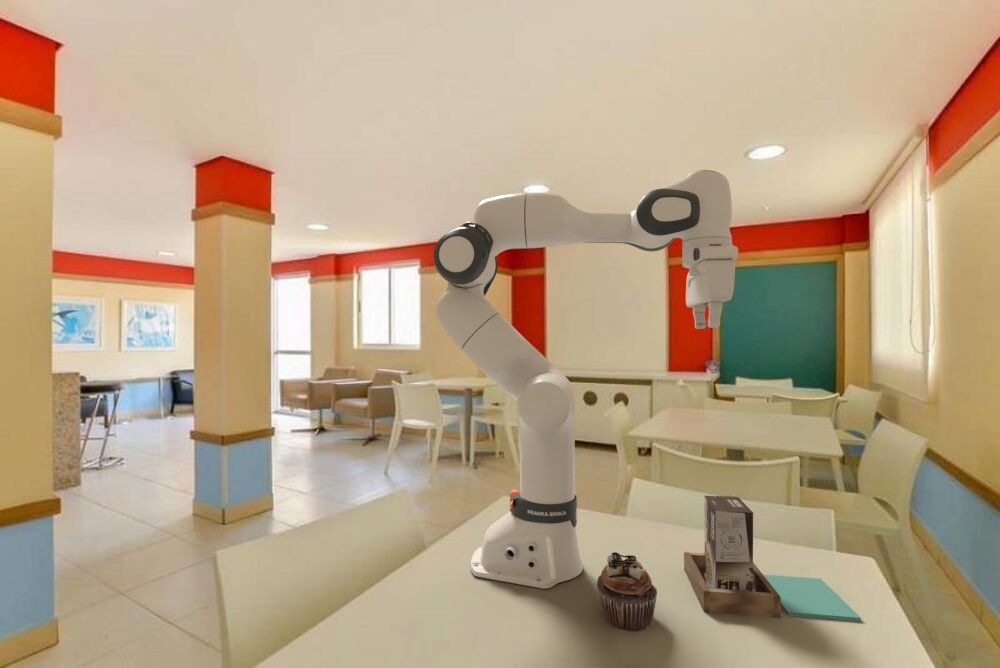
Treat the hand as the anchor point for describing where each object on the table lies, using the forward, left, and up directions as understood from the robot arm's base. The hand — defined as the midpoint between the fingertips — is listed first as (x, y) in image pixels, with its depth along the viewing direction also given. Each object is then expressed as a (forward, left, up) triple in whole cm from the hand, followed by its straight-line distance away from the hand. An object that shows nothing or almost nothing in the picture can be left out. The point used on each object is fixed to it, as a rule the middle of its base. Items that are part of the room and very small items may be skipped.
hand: (706, 328), depth 94 cm
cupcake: (-17, -16, -48) cm, 53 cm away
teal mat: (+15, -5, -48) cm, 51 cm away
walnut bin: (+2, -5, -48) cm, 48 cm away
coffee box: (+2, -5, -48) cm, 49 cm away
